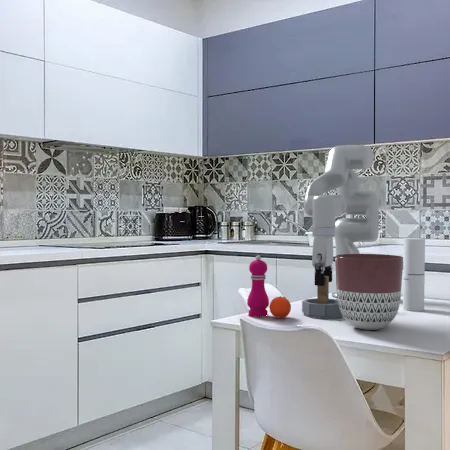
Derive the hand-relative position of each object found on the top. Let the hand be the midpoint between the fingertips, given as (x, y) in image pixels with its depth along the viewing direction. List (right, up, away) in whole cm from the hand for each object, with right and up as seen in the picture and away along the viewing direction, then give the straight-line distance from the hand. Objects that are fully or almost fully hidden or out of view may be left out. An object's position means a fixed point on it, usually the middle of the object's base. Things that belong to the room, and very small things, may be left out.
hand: (323, 283), depth 194 cm
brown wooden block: (0, -10, 0) cm, 10 cm away
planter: (+9, -11, -22) cm, 27 cm away
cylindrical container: (+33, -10, +11) cm, 37 cm away
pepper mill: (-22, -11, -2) cm, 25 cm away
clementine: (-15, -11, -5) cm, 19 cm away
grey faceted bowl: (0, -10, 0) cm, 10 cm away
